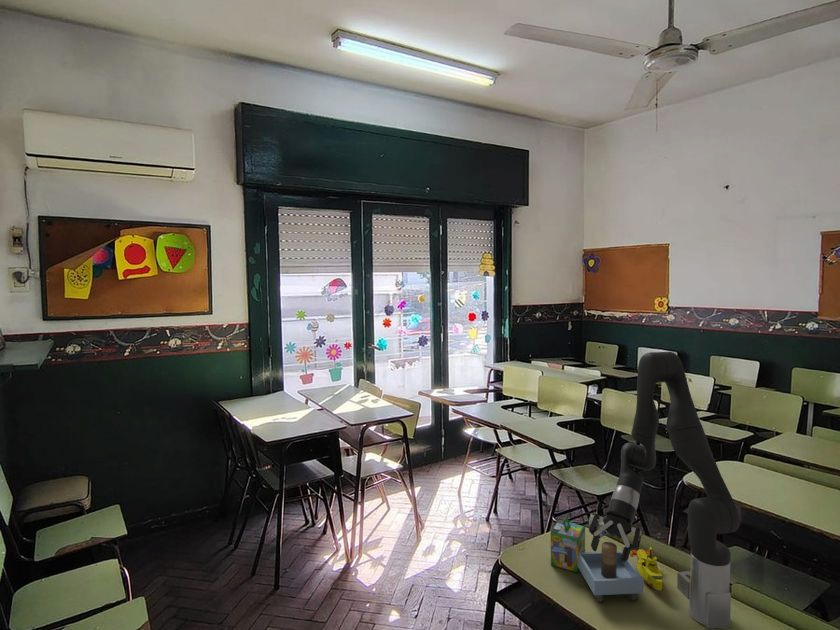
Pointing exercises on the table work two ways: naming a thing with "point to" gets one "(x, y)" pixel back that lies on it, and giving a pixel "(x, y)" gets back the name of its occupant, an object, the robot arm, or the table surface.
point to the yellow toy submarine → (648, 568)
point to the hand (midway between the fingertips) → (607, 555)
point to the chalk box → (567, 544)
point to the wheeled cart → (622, 584)
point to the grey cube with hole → (684, 582)
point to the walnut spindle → (609, 560)
